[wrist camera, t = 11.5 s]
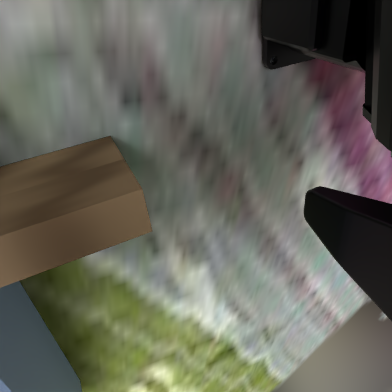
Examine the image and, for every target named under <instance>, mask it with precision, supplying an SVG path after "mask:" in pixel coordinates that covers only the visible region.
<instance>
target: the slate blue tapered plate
mask: <svg viewBox="0 0 392 392" xmlns="http://www.w3.org/2000/svg"><path fill="white" fill-rule="evenodd" d="M0 392H82V388H81V383H80V380H79V378H78V376H77V375H76V373H75V372H74V370H73V368H72V367H71V365H70V363H69V362H68V360H67V358H66V357H65V355H64V354H63V352H62V350H61V349H60V347H59V345H58V344H57V342H56V340H55V339H54V337H53V336H52V334H51V332H50V331H49V329H48V327H47V326H46V324H45V322H44V321H43V319H42V318H41V316H40V314H39V313H38V311H37V309H36V308H35V306H34V304H33V303H32V301H31V300H30V298H29V296H28V295H27V293H26V291H25V290H24V288H23V286H22V285H21V283H20V282H19V281H17V282H14V283H12V284H9V285H6V286H4V287H1V288H0Z"/></svg>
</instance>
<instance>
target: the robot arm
mask: <svg viewBox="0 0 392 392" xmlns="http://www.w3.org/2000/svg"><path fill="white" fill-rule="evenodd" d="M262 36H263V64H264V66H265V67H267V68H269V69H276V68H280V67H284V66H288V65H292V64H296V63H299V62H303V61H307V60H311V59H315V58H317V59H321V60H324V61H327V62H331V63H334V64H337V65H341V66H344V67H348V68H351V69H354V70H358V71H361V72H364V73H365V103H364V104H363V116H364V117H365V118H366V119H367V120H368V121H369V122H370V123H371V127H372V130H373V132H374V135H375V137H376V139H377V140H378V141H379V142H381V143H382V144H383V145H384V146H385V147H386V148H387V149H388V150H390V151H391V157H392V0H262ZM272 57H274V59H273V62H272V63H270V60H271V58H272ZM304 217H305V220H306V221H307V223H308V224H309V225H310V227H311V228H312V229H313V231H314V232H315V233H316V235H317V236H318V237H319V239H320V240H321V241H322V243H323V244H324V245H325V247H326V248H327V249H328V251H329V252H330V253H331V255H332V256H333V257H334V259H335V260H336V261H337V262H338V263H339V264H340V266H341V267H342V268H343V269H344V270H345V271H346V272H347V273H348V274H349V275H350V277H351V278H352V279H353V280H354V281H355V282H356V283H357V284H358V285H359V286H360V287H361V289H362V290H363V291H364V292H365V293H366V294H367V295H368V296H369V297H370V298H371V299H372V300H373V302H374V303H375V304H376V305H377V306H378V307H379V308H380V309H381V310H382V311H383V312H384V313H385V315H386V316H387V317H388V318H389V319H390V320H391V321H392V204H390V203H386V202H382V201H378V200H374V199H370V198H366V197H362V196H358V195H354V194H350V193H346V192H342V191H338V190H334V189H330V188H326V187H321V186H319V187H316V188H313V189H311V190H308V191H307V193H306V195H305V205H304Z"/></svg>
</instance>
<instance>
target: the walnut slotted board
mask: <svg viewBox="0 0 392 392" xmlns="http://www.w3.org/2000/svg"><path fill="white" fill-rule="evenodd" d="M149 232H152V228H151V223H150V219H149V215H148V211H147V207H146V202H145V198H144V194H143V190H142V188H141V186H140V184H139V183H138V181H137V179H136V178H135V176H134V174H133V173H132V171H131V169H130V168H129V166H128V164H127V163H126V161H125V160H124V158H123V156H122V155H121V153H120V151H119V150H118V148H117V146H116V145H115V143H114V141H113V140H112V138H111V136H108V137H105V138H101V139H98V140H94V141H90V142H87V143H83V144H80V145H76V146H73V147H69V148H65V149H62V150H58V151H55V152H51V153H48V154H44V155H40V156H37V157H33V158H30V159H26V160H23V161H19V162H15V163H12V164H8V165H5V166H1V167H0V288H1V287H4V286H6V285H9V284H12V283H14V282H17V281H20V280H23V279H25V278H28V277H31V276H33V275H36V274H39V273H41V272H44V271H47V270H49V269H52V268H55V267H58V266H60V265H63V264H66V263H68V262H71V261H74V260H76V259H79V258H82V257H84V256H87V255H90V254H93V253H95V252H98V251H101V250H103V249H106V248H109V247H111V246H114V245H117V244H119V243H122V242H125V241H128V240H130V239H133V238H136V237H138V236H141V235H144V234H146V233H149Z"/></svg>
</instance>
